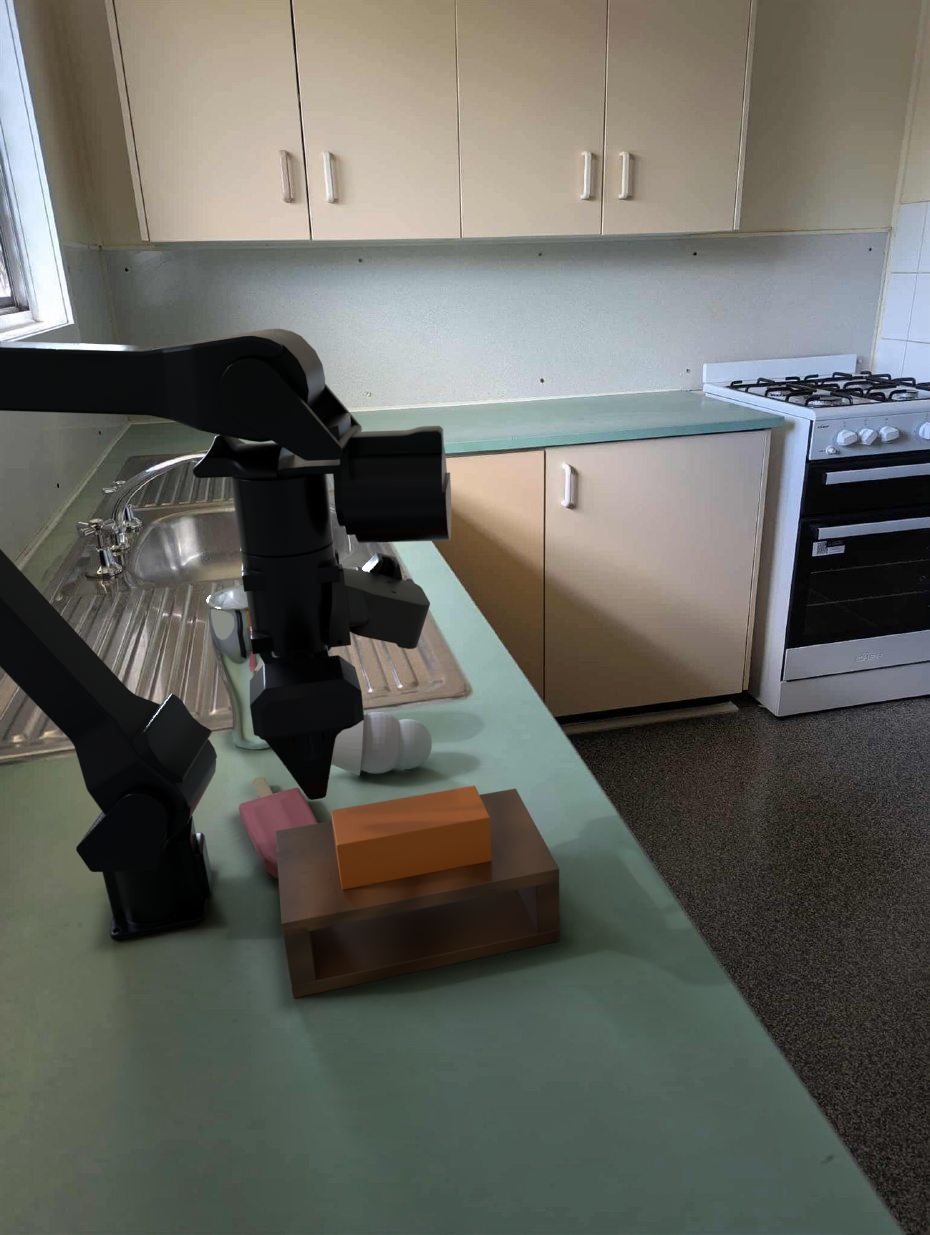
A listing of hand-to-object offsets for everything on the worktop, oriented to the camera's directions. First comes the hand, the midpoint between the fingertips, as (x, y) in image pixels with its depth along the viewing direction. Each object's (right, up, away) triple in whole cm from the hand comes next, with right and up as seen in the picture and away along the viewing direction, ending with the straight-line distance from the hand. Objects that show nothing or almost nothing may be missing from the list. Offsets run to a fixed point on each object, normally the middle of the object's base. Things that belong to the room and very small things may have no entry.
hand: (312, 761), depth 60 cm
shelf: (+7, -12, +2) cm, 14 cm away
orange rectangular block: (+7, -6, -1) cm, 9 cm away
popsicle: (-5, -8, +13) cm, 16 cm away
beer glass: (-10, -2, +28) cm, 30 cm away
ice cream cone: (0, -5, +21) cm, 21 cm away
